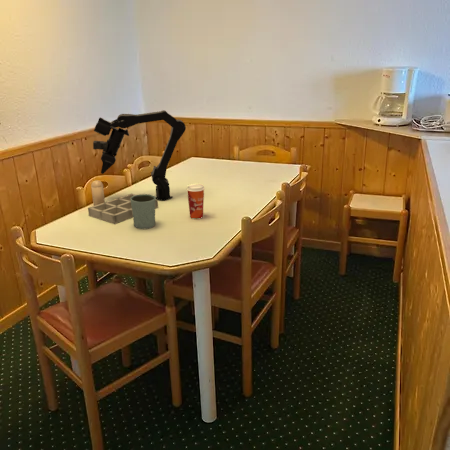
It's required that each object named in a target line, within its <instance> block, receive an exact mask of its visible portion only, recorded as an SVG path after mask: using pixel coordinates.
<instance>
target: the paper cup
mask: <svg viewBox="0 0 450 450" xmlns="http://www.w3.org/2000/svg"><path fill="white" fill-rule="evenodd" d="M186 187H187V188H186V192H187V202H188V208H189V210H188V212H189V217H191V219H192V218H200V219H202V218H203V217H204V200H205V197H204V195H205V193H204V192H205V191H204V190H205V189H206V188H205V186H204V184H201V183H190V184H188V185H187V186H186ZM201 217H202V218H201Z"/></svg>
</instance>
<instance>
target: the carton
mask: <svg viewBox="0 0 450 450" xmlns="http://www.w3.org/2000/svg"><path fill="white" fill-rule="evenodd" d="M135 195H136V194H135V193H129V194H126V195H124V196H120V197H117V198H115V199H111V200H108V201H105V203H101V204H98V205H95V206H94V205H93V206H90V207H88V208H87V209H88V210H87V212H88V216H89V217H92V218H95V219H98V220H100V221H104V222H107V223H111V224H112V225H113V224H114V225H116V224H119V223H121V222H124V221H126V220H129V219H132V218H134V217H133V212H132V206H131V200H130V198H131V197H132V196H135ZM158 208H159V201H158V199H156V202H155V210H156V209H158Z"/></svg>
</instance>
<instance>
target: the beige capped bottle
mask: <svg viewBox="0 0 450 450" xmlns="http://www.w3.org/2000/svg"><path fill="white" fill-rule="evenodd" d="M90 185H91V186H90V187H91V195H92V202H93V206H95V205H98V204H101V203H105V202H106V199H105V194H104V193H105V192H104V191H105V190H104V184H103V182H102V181H101V180H98V179H97V180H94V181H92V182H91V184H90Z"/></svg>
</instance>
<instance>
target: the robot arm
mask: <svg viewBox="0 0 450 450" xmlns="http://www.w3.org/2000/svg"><path fill="white" fill-rule="evenodd" d="M158 121H164V122H165V123H166V124H168V125H169V126H170V127H171V128H170V134H169V139H168V141H167V144H166V146H165V148H164V151H163V153H162V156H161V157H160V160H159V163H158V164H157V165H153V168H152V171H151V172H150V175H151V180H152V183H153V184H154V185H155V197H156V200H159V201H162V202H164V201H167V200H169V199H173V196H171V186H170V183H169V180H168V178H167V177H166V175H167V168H168V166H169V163H170V161H171V158H172V156H173V153H174V151H175V148H176V146H177V143H178V141H179V140H180V139H181V138H182V137H183V135H184V134H185V131H186V128H187V127H186V124H185V122H183V120H181V119H176V118H175V117H174V116H173V115H171V114H170V113H168V111H166V110H163V109H162V110H161V111H153V112H146V113H140V114H139V113H138V114H133V113H121V114H119V115H118V116H117V118H116V119H114V120H112V121H111V122H110V121H109V120H107V119H104V118H103V117H98V121H97V122H96V124H95V126H94V129H93V132H95V133H98V134H99V135H101V136H105V137H106V136H109V137H108V139H107V140H106V141H103V140H93V141H92V150H95V151H97V150H102V154H101V157H100V160H101V162H102V165H101V170H100V173H101V175H104V174H105V173H106V172H107V171H108V170H109V169H110V168H112V166H113V165H114V164H116V161H117V154H118V151H119V149H120V148H121V145H122V142H123V140H124V137H125V136H128V137H129V136H130V133H129V130H128V128H131V127H132V126H136V125H139V124H144V123H151V122H152V123H153V122H158ZM126 128H127V129H126Z"/></svg>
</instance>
